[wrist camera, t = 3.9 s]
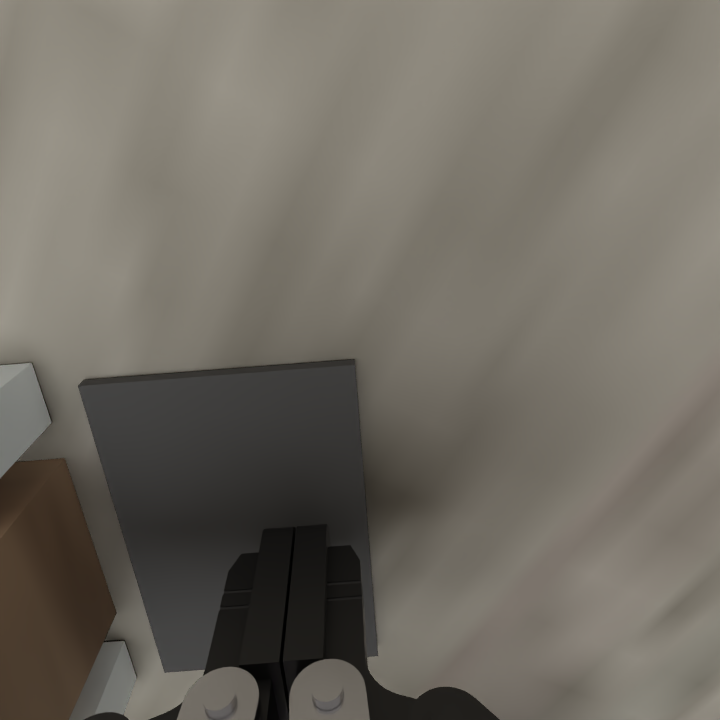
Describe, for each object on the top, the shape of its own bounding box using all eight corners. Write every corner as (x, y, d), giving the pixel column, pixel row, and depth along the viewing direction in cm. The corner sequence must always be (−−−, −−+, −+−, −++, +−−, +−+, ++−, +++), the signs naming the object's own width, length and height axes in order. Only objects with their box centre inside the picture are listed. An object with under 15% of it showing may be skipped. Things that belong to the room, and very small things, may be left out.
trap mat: (354, 359, 12) (354, 365, 12) (377, 646, 16) (377, 655, 16) (83, 379, 12) (78, 385, 12) (167, 663, 16) (164, 672, 16)
